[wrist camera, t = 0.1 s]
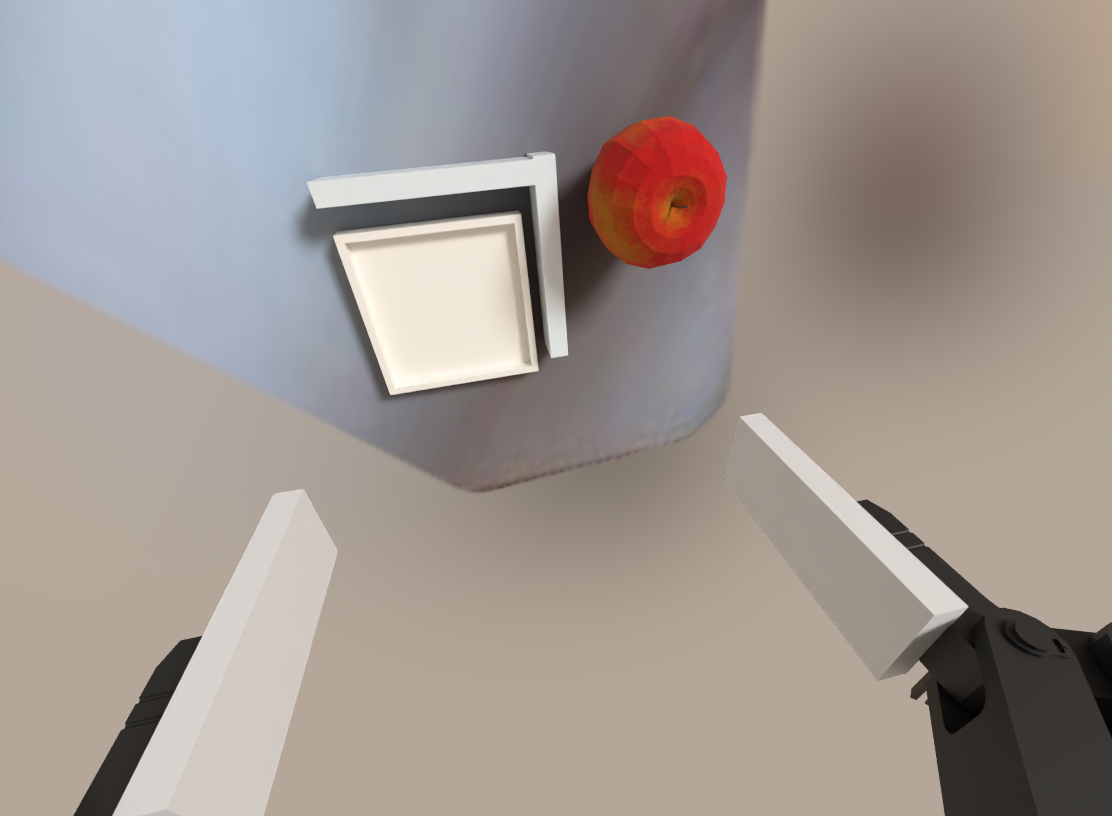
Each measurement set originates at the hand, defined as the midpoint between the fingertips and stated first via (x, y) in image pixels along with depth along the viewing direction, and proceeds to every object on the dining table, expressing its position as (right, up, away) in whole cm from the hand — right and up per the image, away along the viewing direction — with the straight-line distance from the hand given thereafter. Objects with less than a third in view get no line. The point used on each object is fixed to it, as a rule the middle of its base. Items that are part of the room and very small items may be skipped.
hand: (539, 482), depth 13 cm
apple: (+6, +21, +22) cm, 31 cm away
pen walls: (-8, +14, +23) cm, 28 cm away
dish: (-9, +11, +24) cm, 28 cm away
